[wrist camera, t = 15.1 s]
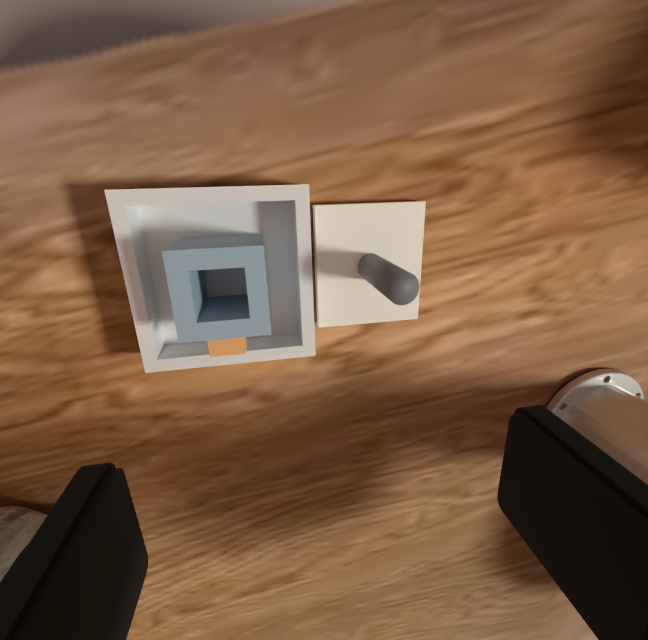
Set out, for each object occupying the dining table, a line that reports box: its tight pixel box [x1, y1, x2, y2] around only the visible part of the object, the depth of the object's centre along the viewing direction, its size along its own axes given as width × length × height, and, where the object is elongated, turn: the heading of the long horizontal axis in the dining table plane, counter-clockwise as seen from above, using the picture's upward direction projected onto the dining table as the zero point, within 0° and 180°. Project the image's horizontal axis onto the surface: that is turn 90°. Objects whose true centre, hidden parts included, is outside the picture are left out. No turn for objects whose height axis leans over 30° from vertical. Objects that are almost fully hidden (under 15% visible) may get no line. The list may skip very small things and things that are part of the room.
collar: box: [162, 234, 271, 357], centre depth 26 cm, size 6×7×6 cm
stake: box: [312, 201, 426, 328], centre depth 27 cm, size 10×9×8 cm
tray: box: [104, 184, 316, 373], centre depth 27 cm, size 13×13×4 cm
